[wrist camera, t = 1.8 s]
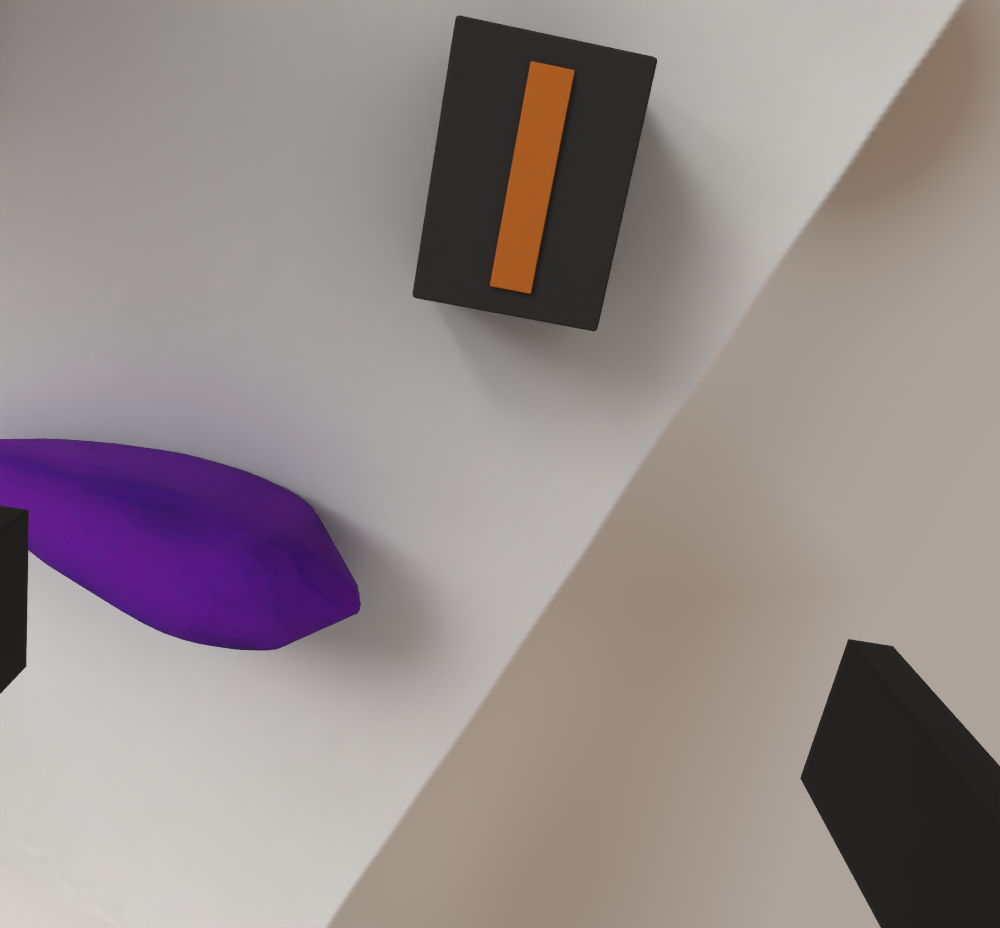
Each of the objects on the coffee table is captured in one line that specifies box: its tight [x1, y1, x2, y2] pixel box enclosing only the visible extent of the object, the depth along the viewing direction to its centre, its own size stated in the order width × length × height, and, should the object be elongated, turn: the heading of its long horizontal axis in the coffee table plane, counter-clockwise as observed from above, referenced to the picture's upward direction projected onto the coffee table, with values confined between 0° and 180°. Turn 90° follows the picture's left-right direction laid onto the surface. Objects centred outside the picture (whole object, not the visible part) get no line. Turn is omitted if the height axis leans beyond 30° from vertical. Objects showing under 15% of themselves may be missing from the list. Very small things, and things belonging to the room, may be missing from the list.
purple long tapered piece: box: [0, 439, 361, 650], centre depth 29 cm, size 5×5×15 cm
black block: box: [413, 16, 657, 331], centre depth 26 cm, size 8×6×5 cm
